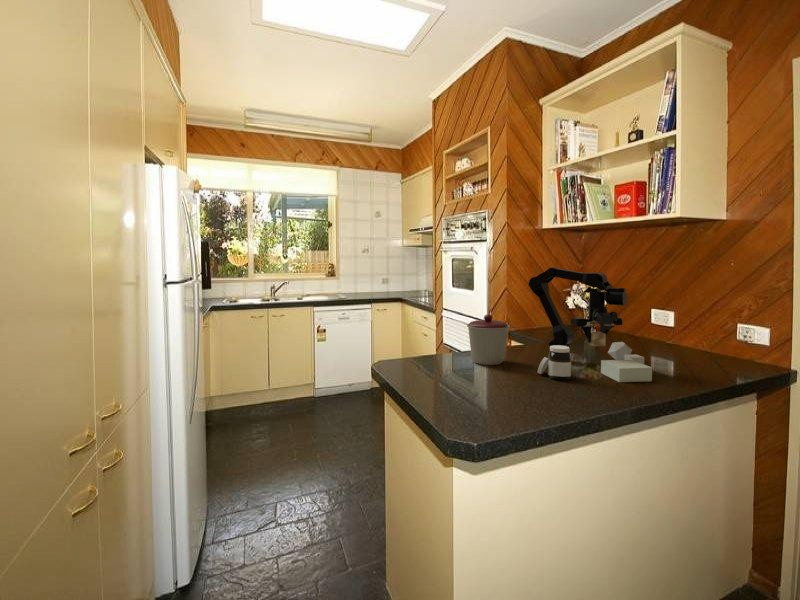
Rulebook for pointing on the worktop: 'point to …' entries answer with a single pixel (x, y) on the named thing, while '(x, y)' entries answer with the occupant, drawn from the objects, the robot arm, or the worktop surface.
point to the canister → (488, 340)
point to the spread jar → (557, 363)
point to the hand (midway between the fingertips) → (595, 342)
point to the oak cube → (597, 339)
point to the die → (619, 350)
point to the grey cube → (634, 358)
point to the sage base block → (626, 370)
